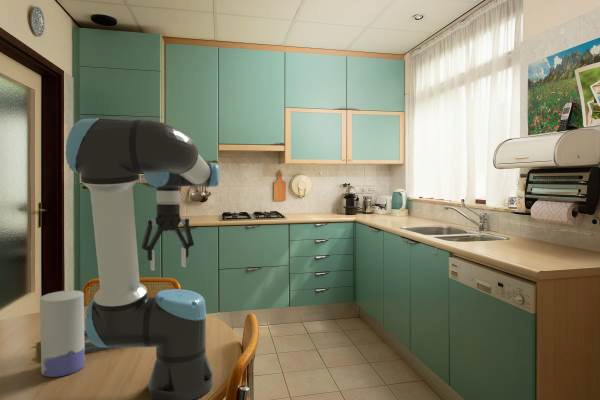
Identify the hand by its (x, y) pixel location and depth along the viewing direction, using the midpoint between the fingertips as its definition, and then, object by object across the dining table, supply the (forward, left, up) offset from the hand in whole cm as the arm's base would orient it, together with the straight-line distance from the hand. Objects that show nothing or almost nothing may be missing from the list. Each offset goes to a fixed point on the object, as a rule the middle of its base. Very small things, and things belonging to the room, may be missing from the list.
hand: (168, 268), depth 137 cm
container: (-16, +32, -21) cm, 41 cm away
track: (0, +20, -21) cm, 29 cm away
